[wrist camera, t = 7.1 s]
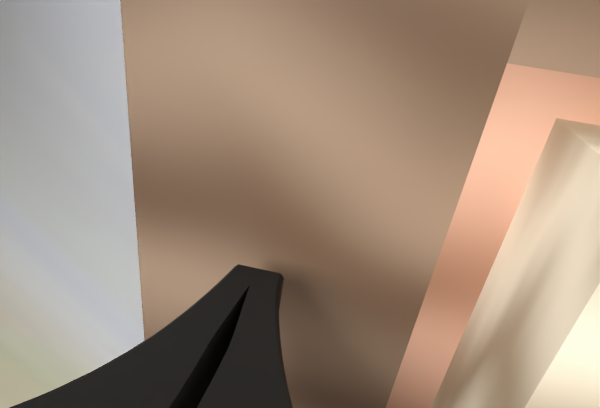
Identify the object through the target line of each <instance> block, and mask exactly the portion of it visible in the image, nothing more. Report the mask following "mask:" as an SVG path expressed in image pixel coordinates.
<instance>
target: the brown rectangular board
mask: <svg viewBox="0 0 600 408" xmlns="http://www.w3.org/2000/svg"><path fill="white" fill-rule="evenodd" d="M120 1H121V15H122V29H123V43H124V57H125V71H126V85H127V99H128V113H129V127H130V141H131V156H132V170H133V184H134V198H135V212H136V226H137V240H138V254H139V268H140V282H141V296H142V310H143V324H144V338H145V340H147V339H148V338H150V337H151V336H153V335H154V334H155V333H157V332H158V331H160V330H161V329H163V328H164V327H165V326H167V325H168V324H169V323H171V322H172V321H173V320H174V319H176V318H177V317H178V316H180V315H181V314H182V313H184V312H185V311H186V310H187V309H189V308H190V307H191V306H192V305H193V304H195V303H196V302H197V301H198V300H199V299H200V298H202V297H203V296H204V295H205V294H206V293H207V292H209V291H210V290H211V289H212V288H213V287H214V286H215V285H216V284H217V283H218V282H219V281H221V280H222V279H223V278H224V277H225V276H226V275H227V274H228V273H229V272H230V271H231V270H232V269H233V268H234V267H235V266H237V265H238V264H240V265H244V266H249V267H253V268H258V269H263V270H267V271H272V272H276V273H281V275H282V276H283V277H284V280H283V287H282V294H281V301H280V308H279V326H280V340H281V349H282V357H283V363H284V369H285V375H286V380H287V385H288V390H289V394H290V398H291V402H292V407H293V408H431V406H432V404H433V402H434V400H435V397H436V395H437V393H438V390H439V388H440V386H441V383H442V381H443V379H444V376H445V374H446V372H447V370H448V367H449V365H450V363H451V360H452V358H453V356H454V353H455V351H456V349H457V346H458V344H459V342H460V340H461V337H462V335H463V333H464V330H465V328H466V326H467V323H468V321H469V319H470V316H471V314H472V312H473V310H474V307H475V305H476V303H477V300H478V298H479V296H480V293H481V291H482V289H483V286H484V284H485V282H486V280H487V277H488V275H489V273H490V270H491V268H492V266H493V263H494V261H495V259H496V256H497V254H498V252H499V249H500V247H501V245H502V243H503V240H504V238H505V236H506V233H507V231H508V229H509V226H510V224H511V222H512V219H513V217H514V215H515V213H516V210H517V208H518V206H519V203H520V201H521V199H522V196H523V194H524V192H525V189H526V187H527V185H528V183H529V180H530V178H531V176H532V173H533V171H534V169H535V166H536V164H537V162H538V159H539V157H540V155H541V153H542V150H543V148H544V146H545V143H546V141H547V139H548V136H549V134H550V132H551V129H552V127H553V125H554V122H555V120H556V118H559V119H565V120H571V121H577V122H582V123H588V124H594V125H600V0H120Z"/></svg>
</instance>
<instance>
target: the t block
mask: <svg viewBox="0 0 600 408" xmlns="http://www.w3.org/2000/svg"><path fill="white" fill-rule="evenodd" d="M431 408H600V125H594V124H588V123H582V122H577V121H571V120H565V119H559V118H556V120H555V122H554V125H553V127H552V129H551V132H550V134H549V136H548V139H547V141H546V143H545V146H544V148H543V150H542V153H541V155H540V157H539V159H538V162H537V164H536V166H535V169H534V171H533V173H532V176H531V178H530V180H529V183H528V185H527V187H526V189H525V192H524V194H523V196H522V199H521V201H520V203H519V206H518V208H517V210H516V213H515V215H514V217H513V219H512V222H511V224H510V226H509V229H508V231H507V233H506V236H505V238H504V240H503V243H502V245H501V247H500V249H499V252H498V254H497V256H496V259H495V261H494V263H493V266H492V268H491V270H490V273H489V275H488V277H487V280H486V282H485V284H484V286H483V289H482V291H481V293H480V296H479V298H478V300H477V303H476V305H475V307H474V310H473V312H472V314H471V316H470V319H469V321H468V323H467V326H466V328H465V330H464V333H463V335H462V337H461V340H460V342H459V344H458V346H457V349H456V351H455V353H454V356H453V358H452V360H451V363H450V365H449V367H448V370H447V372H446V374H445V376H444V379H443V381H442V383H441V386H440V388H439V390H438V393H437V395H436V397H435V400H434V402H433V404H432V406H431Z"/></svg>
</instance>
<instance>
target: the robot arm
mask: <svg viewBox="0 0 600 408" xmlns="http://www.w3.org/2000/svg"><path fill="white" fill-rule="evenodd" d="M283 280H284V277H283V276H282V275H281V273H276V272H272V271H267V270H263V269H258V268H253V267H249V266H244V265H240V264H238V265H237V266H235V267H234V268H233V269H232V270H231V271H230V272H229V273H228V274H227V275H226V276H225V277H224V278H223V279H222V280H221V281H219V282H218V283H217V284H216V285H215V286H214V287H213V288H212V289H211V290H210V291H209V292H207V293H206V294H205V295H204V296H203V297H202V298H200V299H199V300H198V301H197V302H196V303H195V304H193V305H192V306H191V307H190V308H189V309H187V310H186V311H185V312H184V313H182V314H181V315H180V316H178V317H177V318H176V319H174V320H173V321H172V322H171V323H169V324H168V325H167V326H165V327H164V328H163V329H161V330H160V331H158V332H157V333H155V334H154V335H153V336H151V337H150V338H148V339H147V340H145V341H143V342H142V343H140V344H139V345H137V346H136V347H134V348H132V349H131V350H129V351H128V352H126V353H124V354H122V355H121V356H119V357H117V358H115V359H114V360H112V361H110V362H109V363H107V364H105V365H103V366H101V367H99V368H98V369H96V370H94V371H92V372H90V373H88V374H86V375H84V376H82V377H80V378H77V379H75V380H73V381H71V382H69V383H67V384H65V385H63V386H61V387H59V388H57V389H54V390H52V391H50V392H48V393H45V394H43V395H41V396H38V397H36V398H33V399H31V400H28V401H25V402H23V403H20V404H18V405H15V406H13V407H10V408H293V407H292V402H291V398H290V394H289V390H288V385H287V380H286V375H285V369H284V363H283V357H282V349H281V340H280V326H279V308H280V301H281V294H282V287H283Z"/></svg>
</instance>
